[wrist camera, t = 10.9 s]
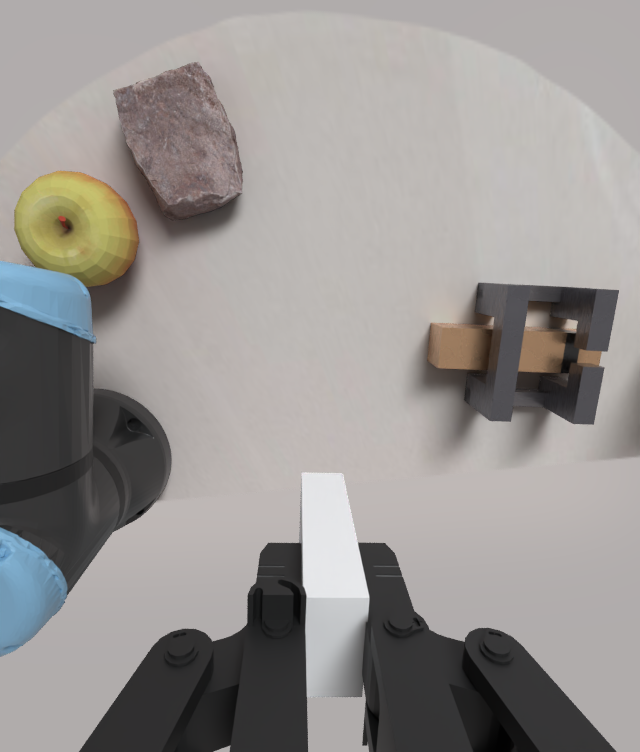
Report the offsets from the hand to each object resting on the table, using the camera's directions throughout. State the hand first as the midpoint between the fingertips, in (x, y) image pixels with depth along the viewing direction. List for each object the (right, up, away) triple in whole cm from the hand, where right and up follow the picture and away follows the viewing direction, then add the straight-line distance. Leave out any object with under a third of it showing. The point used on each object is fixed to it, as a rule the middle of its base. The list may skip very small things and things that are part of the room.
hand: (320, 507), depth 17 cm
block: (+19, +8, +32) cm, 38 cm away
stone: (-12, +26, +27) cm, 40 cm away
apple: (-22, +19, +28) cm, 40 cm away
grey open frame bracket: (+21, +8, +32) cm, 39 cm away
